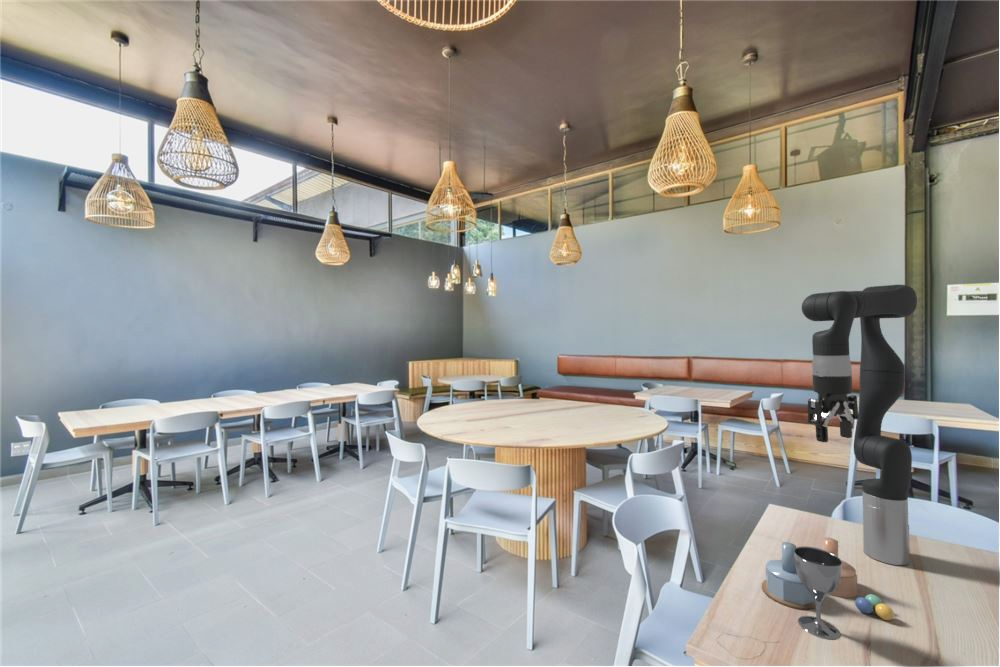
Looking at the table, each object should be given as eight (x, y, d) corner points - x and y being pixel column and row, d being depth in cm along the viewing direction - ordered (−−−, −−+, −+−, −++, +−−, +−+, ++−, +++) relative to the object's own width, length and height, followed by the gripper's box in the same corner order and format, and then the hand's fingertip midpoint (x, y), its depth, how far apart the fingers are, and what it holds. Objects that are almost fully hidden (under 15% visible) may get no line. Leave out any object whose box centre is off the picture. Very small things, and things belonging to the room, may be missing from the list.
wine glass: (852, 643, 82) (850, 568, 82) (807, 638, 84) (806, 564, 84) (829, 617, 90) (827, 548, 90) (788, 612, 92) (787, 544, 92)
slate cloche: (784, 577, 104) (784, 533, 104) (823, 599, 95) (822, 550, 95) (757, 584, 101) (756, 539, 101) (795, 608, 92) (794, 558, 92)
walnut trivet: (783, 577, 105) (783, 574, 105) (830, 603, 95) (830, 600, 95) (751, 585, 101) (751, 583, 101) (795, 614, 91) (795, 611, 91)
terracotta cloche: (824, 571, 107) (823, 529, 107) (865, 592, 98) (864, 545, 98) (799, 579, 104) (798, 534, 104) (839, 600, 95) (838, 552, 95)
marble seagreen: (870, 603, 94) (870, 590, 94) (886, 611, 92) (886, 598, 92) (861, 606, 93) (861, 592, 93) (877, 614, 91) (877, 600, 91)
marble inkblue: (860, 606, 93) (860, 593, 93) (876, 614, 90) (876, 601, 91) (852, 609, 92) (851, 596, 92) (867, 618, 90) (867, 604, 90)
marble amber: (880, 612, 91) (880, 599, 91) (897, 621, 88) (897, 607, 88) (871, 615, 90) (871, 602, 90) (888, 624, 87) (888, 610, 87)
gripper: (834, 370, 107) (837, 433, 107) (795, 374, 102) (798, 439, 102) (868, 372, 100) (871, 439, 100) (827, 376, 95) (830, 446, 95)
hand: (834, 439), depth 101 cm, fingers open, 8 cm apart
